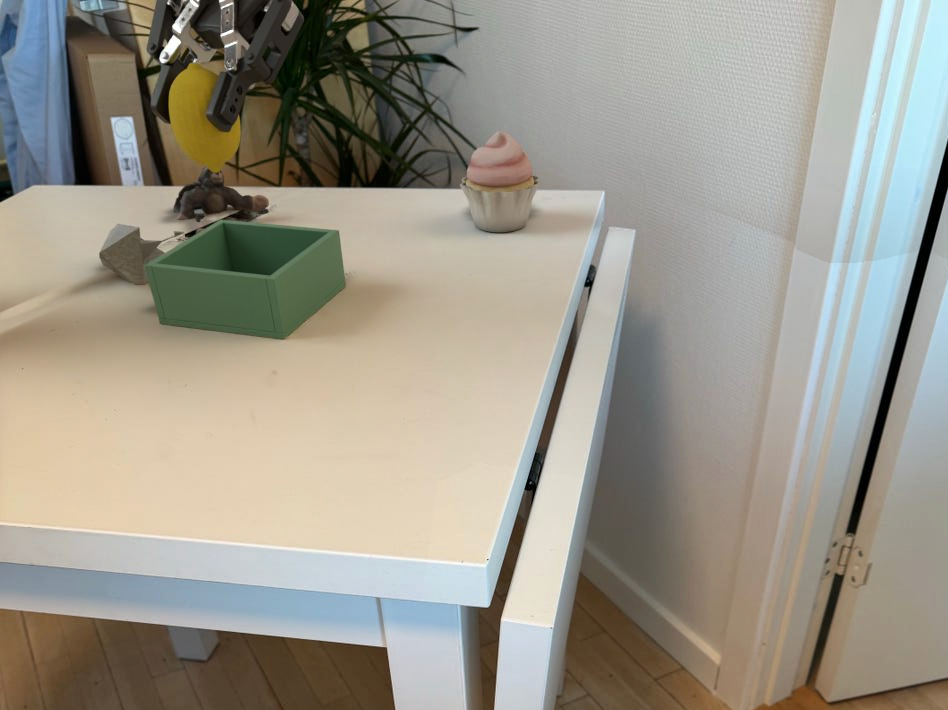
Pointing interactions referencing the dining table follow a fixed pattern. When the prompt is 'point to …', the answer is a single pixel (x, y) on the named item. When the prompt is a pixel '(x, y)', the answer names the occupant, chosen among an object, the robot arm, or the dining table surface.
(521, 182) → the cupcake
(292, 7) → the robot arm
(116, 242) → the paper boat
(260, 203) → the stuffed animal
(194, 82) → the lemon
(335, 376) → the dining table surface
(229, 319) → the bin
